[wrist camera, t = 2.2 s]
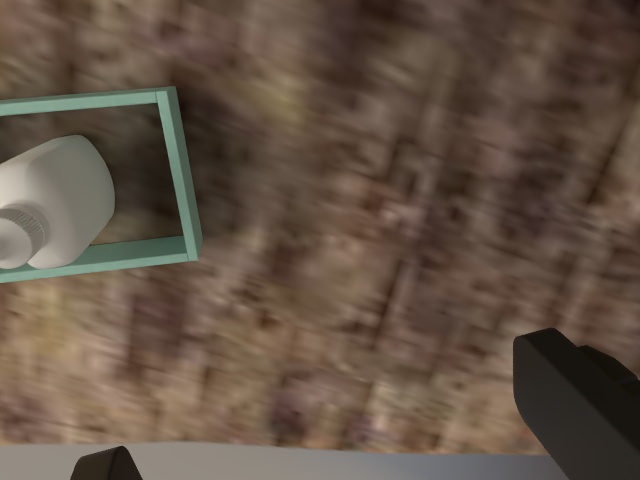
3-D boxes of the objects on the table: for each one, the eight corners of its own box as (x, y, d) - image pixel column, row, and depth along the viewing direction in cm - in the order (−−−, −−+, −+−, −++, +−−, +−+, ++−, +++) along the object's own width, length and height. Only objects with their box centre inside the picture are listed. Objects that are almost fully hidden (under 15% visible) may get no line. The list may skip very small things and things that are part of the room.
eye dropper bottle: (40, 209, 30) (-82, 304, 19) (53, 124, 28) (-75, 175, 17) (112, 227, 31) (34, 327, 20) (128, 147, 29) (53, 208, 18)
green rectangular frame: (175, 85, 28) (166, 90, 25) (203, 241, 32) (198, 260, 29) (-58, 104, 27) (-96, 111, 24) (0, 263, 31) (-26, 286, 28)
